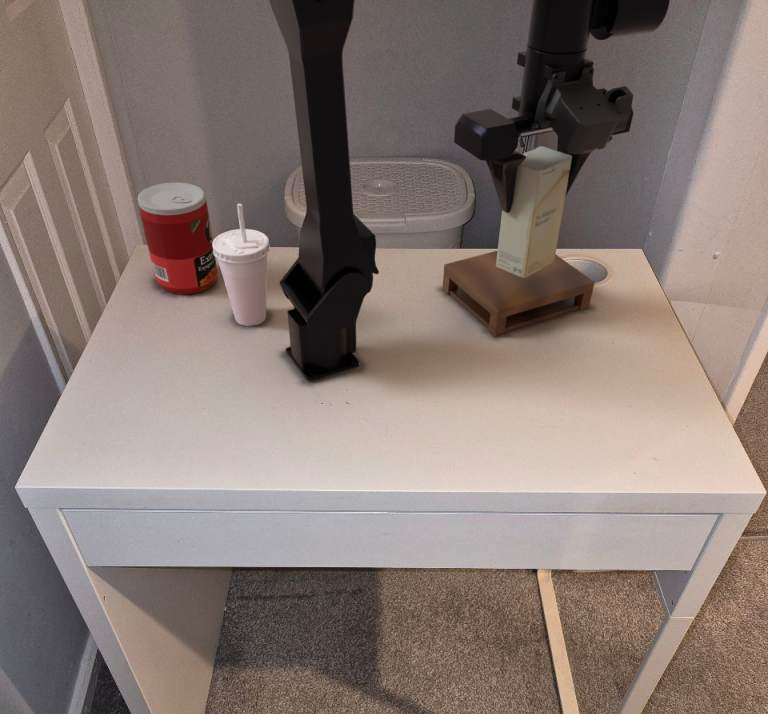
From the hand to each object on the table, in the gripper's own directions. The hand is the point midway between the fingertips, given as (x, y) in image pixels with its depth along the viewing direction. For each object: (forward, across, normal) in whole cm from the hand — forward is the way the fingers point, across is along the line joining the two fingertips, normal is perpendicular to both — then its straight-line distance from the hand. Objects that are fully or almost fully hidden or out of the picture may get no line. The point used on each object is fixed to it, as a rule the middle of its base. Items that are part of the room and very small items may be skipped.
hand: (533, 205), depth 84 cm
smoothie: (+13, -30, +13) cm, 35 cm away
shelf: (+13, +1, +2) cm, 13 cm away
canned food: (+13, -34, +25) cm, 44 cm away
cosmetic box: (+7, 0, 0) cm, 7 cm away
